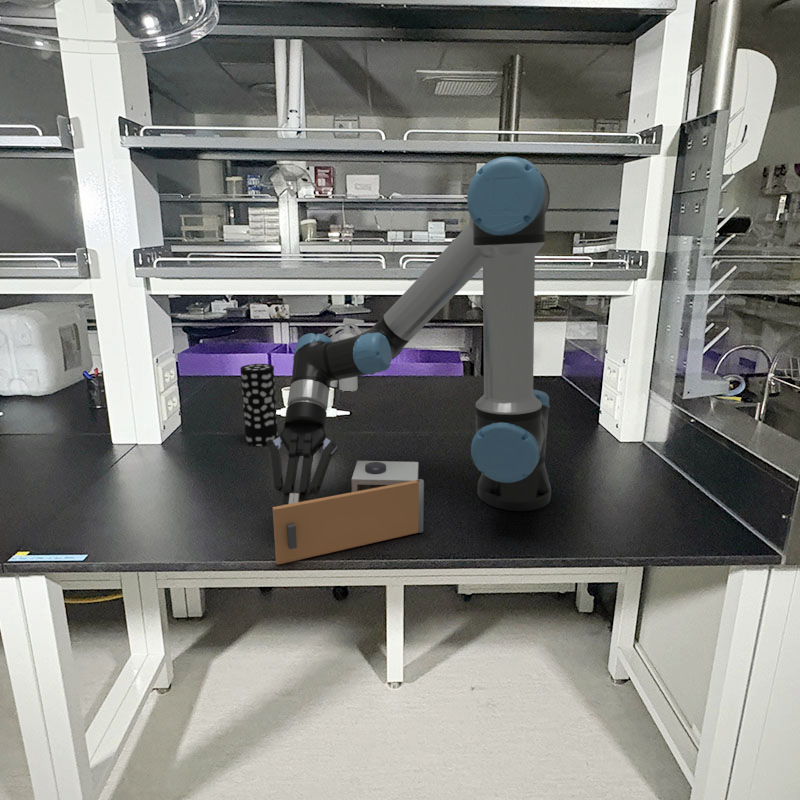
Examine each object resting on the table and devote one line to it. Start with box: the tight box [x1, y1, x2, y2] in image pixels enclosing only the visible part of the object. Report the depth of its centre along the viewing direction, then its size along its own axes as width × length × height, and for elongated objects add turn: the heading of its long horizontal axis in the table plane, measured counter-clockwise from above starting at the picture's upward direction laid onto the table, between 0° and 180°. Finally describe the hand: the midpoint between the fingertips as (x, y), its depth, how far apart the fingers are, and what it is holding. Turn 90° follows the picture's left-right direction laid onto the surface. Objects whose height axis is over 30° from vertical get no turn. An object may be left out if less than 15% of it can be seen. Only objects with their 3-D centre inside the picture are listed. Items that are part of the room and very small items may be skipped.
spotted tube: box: [239, 363, 279, 447], centre depth 153 cm, size 8×8×20 cm
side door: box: [272, 478, 425, 565], centre depth 101 cm, size 27×2×10 cm, turn 115°
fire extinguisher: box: [330, 317, 365, 392], centre depth 203 cm, size 7×12×25 cm, turn 87°
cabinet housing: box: [351, 460, 419, 492], centre depth 112 cm, size 12×9×11 cm
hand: (291, 532), depth 100 cm, fingers closed
